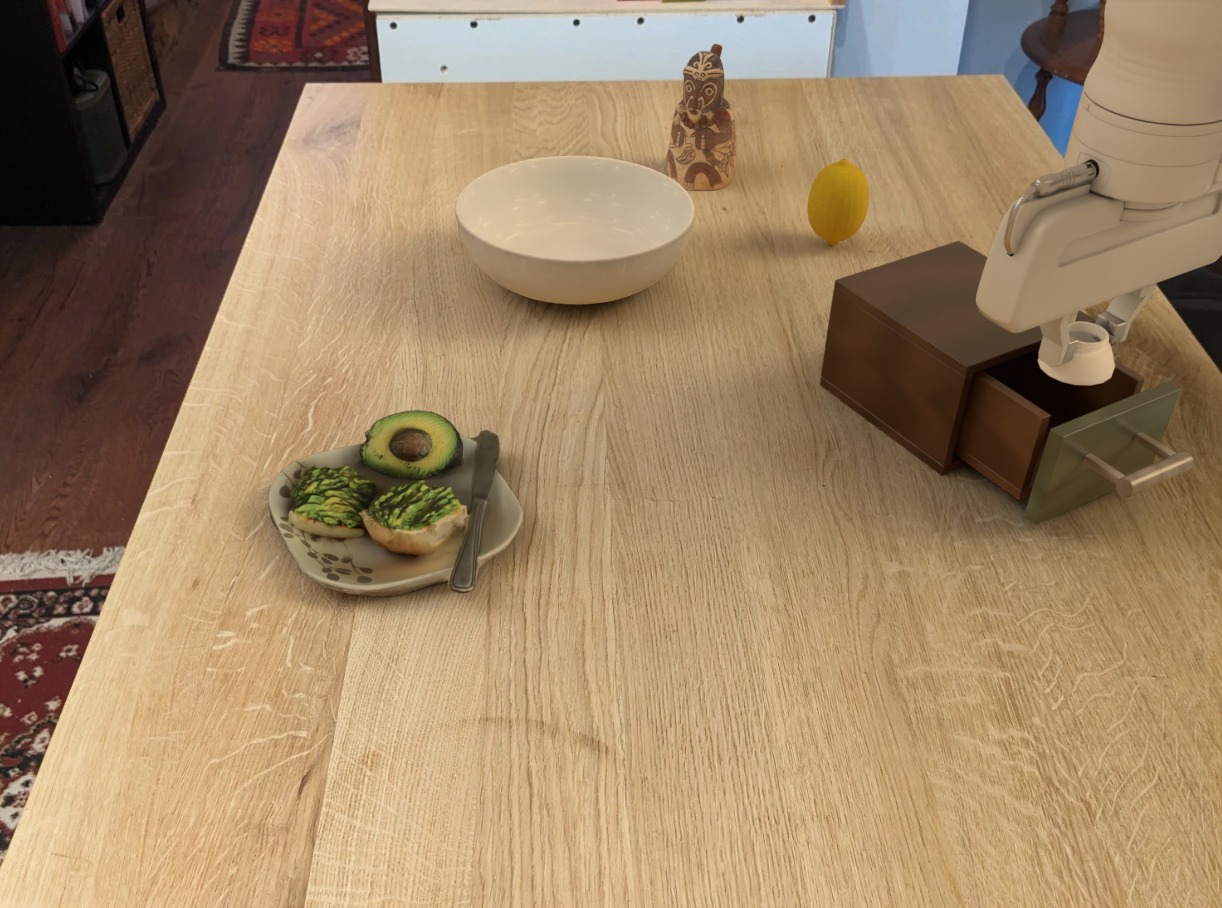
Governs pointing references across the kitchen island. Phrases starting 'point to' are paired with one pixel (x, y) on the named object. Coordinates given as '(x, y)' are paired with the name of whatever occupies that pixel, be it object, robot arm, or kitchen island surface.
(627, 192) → the serving bowl
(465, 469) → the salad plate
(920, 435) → the cabinet
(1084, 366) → the white jar
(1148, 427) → the drawer
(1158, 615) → the kitchen island surface
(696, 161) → the figurine
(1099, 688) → the kitchen island surface
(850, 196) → the lemon
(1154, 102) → the robot arm
